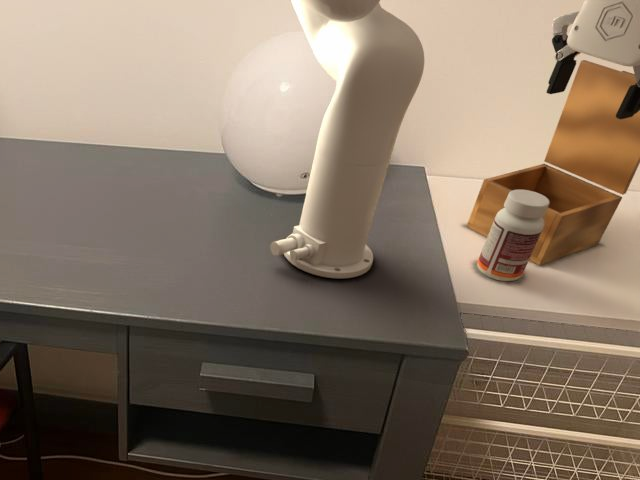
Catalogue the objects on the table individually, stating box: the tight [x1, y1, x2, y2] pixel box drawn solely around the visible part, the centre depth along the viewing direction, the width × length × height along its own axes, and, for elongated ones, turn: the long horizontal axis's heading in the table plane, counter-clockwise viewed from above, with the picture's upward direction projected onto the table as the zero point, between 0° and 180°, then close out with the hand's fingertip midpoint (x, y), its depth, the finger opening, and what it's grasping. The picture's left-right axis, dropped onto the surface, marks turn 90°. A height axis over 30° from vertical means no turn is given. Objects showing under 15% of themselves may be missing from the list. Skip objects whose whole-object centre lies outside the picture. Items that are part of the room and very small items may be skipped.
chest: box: [466, 163, 623, 266], centre depth 112 cm, size 15×13×8 cm
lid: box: [543, 59, 640, 195], centre depth 108 cm, size 15×13×6 cm
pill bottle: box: [476, 190, 549, 282], centre depth 102 cm, size 6×6×11 cm
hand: (588, 104), depth 95 cm, fingers open, 9 cm apart
